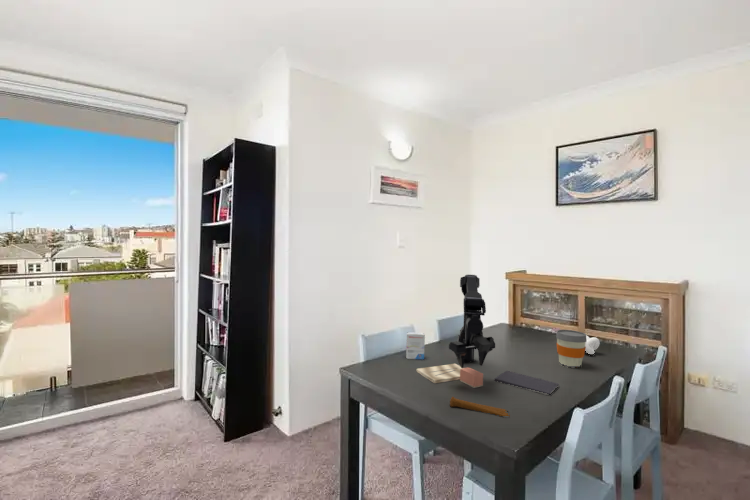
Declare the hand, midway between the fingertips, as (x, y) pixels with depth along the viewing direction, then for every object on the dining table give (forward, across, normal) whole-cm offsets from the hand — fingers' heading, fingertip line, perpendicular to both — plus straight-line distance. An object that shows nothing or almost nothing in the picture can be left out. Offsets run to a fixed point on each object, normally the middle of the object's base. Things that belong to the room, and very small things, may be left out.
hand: (471, 366), depth 148 cm
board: (+7, -4, +12) cm, 14 cm away
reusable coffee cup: (+7, +58, +2) cm, 58 cm away
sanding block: (+7, 0, 0) cm, 7 cm away
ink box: (+7, -5, +36) cm, 37 cm away
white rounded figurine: (+7, +83, +12) cm, 84 cm away
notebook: (+8, +21, -8) cm, 24 cm away
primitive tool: (+7, -12, -20) cm, 24 cm away
